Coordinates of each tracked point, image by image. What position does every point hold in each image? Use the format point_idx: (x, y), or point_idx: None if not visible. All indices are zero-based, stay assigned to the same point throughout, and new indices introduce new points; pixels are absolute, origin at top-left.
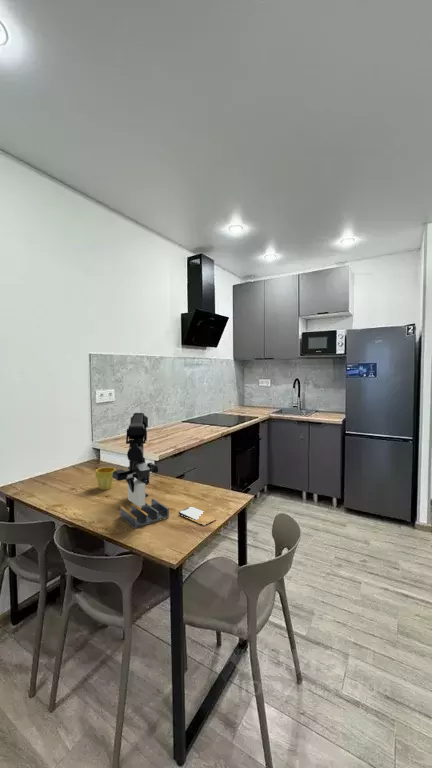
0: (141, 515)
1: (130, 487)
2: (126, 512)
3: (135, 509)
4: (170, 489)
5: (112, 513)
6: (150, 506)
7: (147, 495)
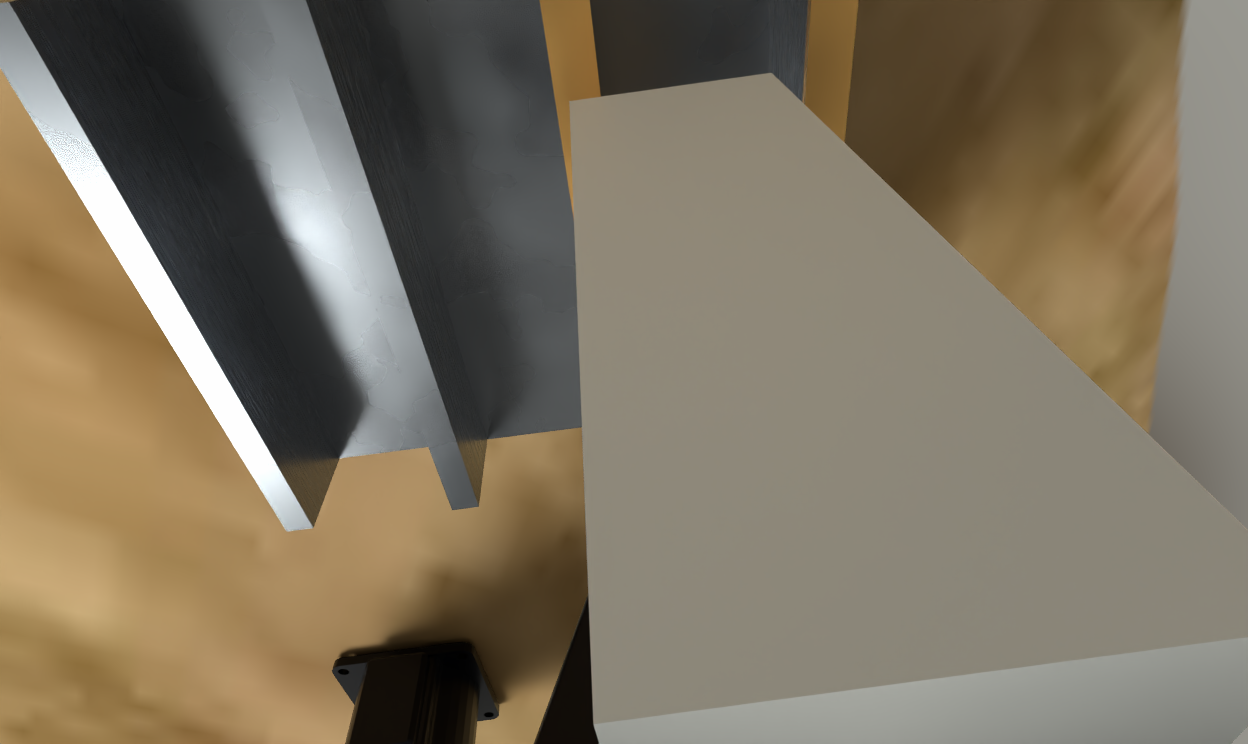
0: None
1: None
2: None
3: None
4: (50, 703)
5: None
6: (383, 301)
7: (339, 663)
